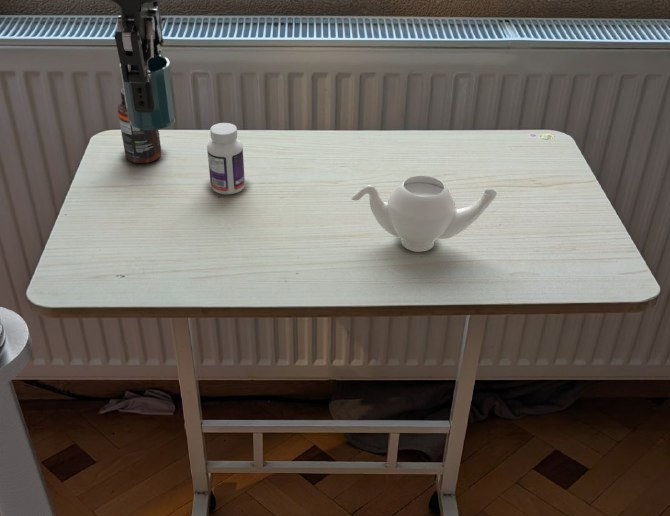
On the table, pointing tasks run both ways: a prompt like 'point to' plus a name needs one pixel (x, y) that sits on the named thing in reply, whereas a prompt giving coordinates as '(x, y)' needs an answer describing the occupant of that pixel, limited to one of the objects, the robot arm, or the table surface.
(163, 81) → the cup
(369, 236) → the table surface
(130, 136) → the supplement bottle
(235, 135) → the pill bottle
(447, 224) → the teapot
